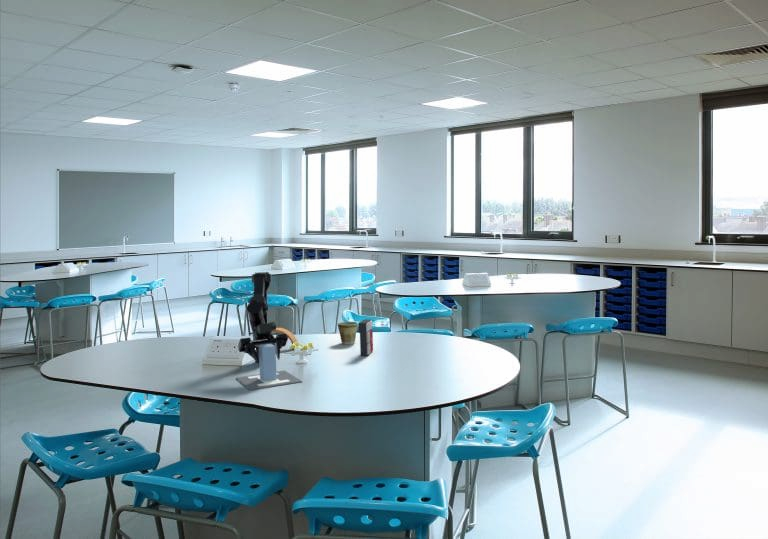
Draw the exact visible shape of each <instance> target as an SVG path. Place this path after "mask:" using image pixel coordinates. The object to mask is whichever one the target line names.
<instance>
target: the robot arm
mask: <svg viewBox="0 0 768 539" xmlns="http://www.w3.org/2000/svg"><path fill="white" fill-rule="evenodd" d="M251 283H252V284H253V296H252V297H250V299H249V303H248V304H247V306H246V313H247V317H248V322H249V325H250V328H251V333H252V335H251V336H252V338H251V337H249V336H248V337H242V338H240V339H239V341H238V346H237V348H238V352H239V353H244V354H247V355H249V356H250V357H251V358H252V359H253V360H254V363H259V345H266V344H273V345H274V346H275V351H276V359H277V360H280V358H281V357H280V356H281V349H282V348H283V347H286V345H287V343H288V340H289V338H288V336H287V334H285V333H283V334H282V333H276V335H275V336H274V334H273V332H272V331H274V330H275V329H276V328H277V323H276V322H275V321H270V322H269V321H268V320H269V319H268V316H269V315H268V311H269V310H270V307H269V304H268V292H269V290H270V288H271V285H272V284H271V283H273V276H272V274H271V273H270V272H268V271H264V272H263V271H262V272H261V271H260V272H259V271H258V272H254V273H253V274H251ZM268 322H269V323H268ZM255 348H256V350H255Z"/></svg>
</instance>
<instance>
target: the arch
mask: <svg viewBox="0 0 768 539" xmlns="http://www.w3.org/2000/svg"><path fill="white" fill-rule="evenodd" d="M272 333H279V334H283V333H285V334H287V336H288V340H290V343H291V344H293V343H295V342H298V340H297V337H296V336H295V335H294V334H293V333H292V332H291V331H290V330H288V329H286V328H284V327H276V329H275V330H274V331H272Z"/></svg>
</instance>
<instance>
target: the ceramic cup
mask: <svg viewBox="0 0 768 539" xmlns="http://www.w3.org/2000/svg"><path fill="white" fill-rule="evenodd" d="M358 323H359V322H357V321H342V322H338V323H337V327H338V333H339V336H340V337H339V338H340V340H341V341H340V342H341V344H342V345H354V344H356V337H357V336H356V335H357V331H358Z"/></svg>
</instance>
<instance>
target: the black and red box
mask: <svg viewBox="0 0 768 539" xmlns="http://www.w3.org/2000/svg"><path fill="white" fill-rule="evenodd" d="M357 323H358V326H357V331H358V333H359V346H360V347H359V348H360V349H359V351H360V356H361V357H367V355H370V354H371V353H372V352H373V351H374V340H373V339H374V337H373V336H374V335H373V333H374V332H373V331H374V330H373V321H372V319H371V318H370V319H368V318H366V319H365V318H364V319H362V320H361V321H359V322H357Z"/></svg>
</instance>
